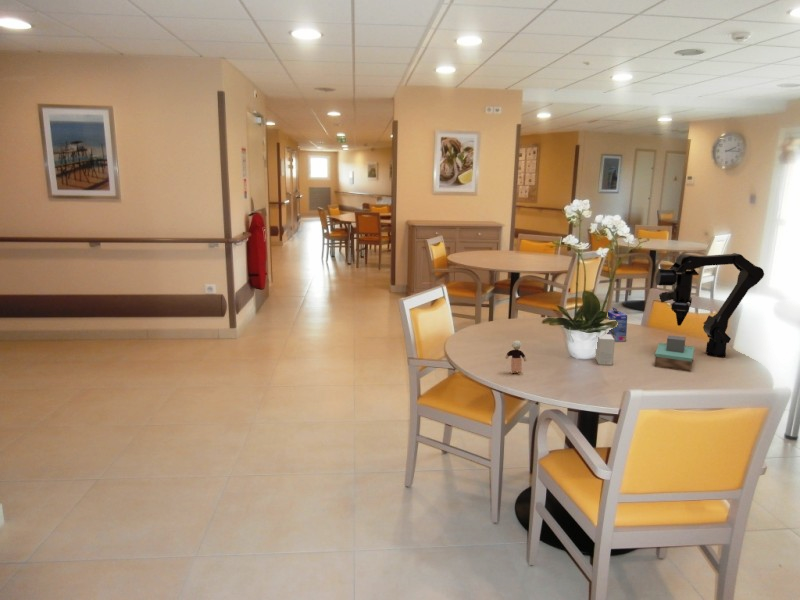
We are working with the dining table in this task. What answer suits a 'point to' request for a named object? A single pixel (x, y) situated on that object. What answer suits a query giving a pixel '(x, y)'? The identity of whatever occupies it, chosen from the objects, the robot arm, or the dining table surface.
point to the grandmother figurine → (516, 357)
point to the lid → (675, 353)
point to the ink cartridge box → (621, 328)
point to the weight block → (675, 344)
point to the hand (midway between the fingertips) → (679, 323)
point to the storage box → (673, 363)
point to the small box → (605, 350)
